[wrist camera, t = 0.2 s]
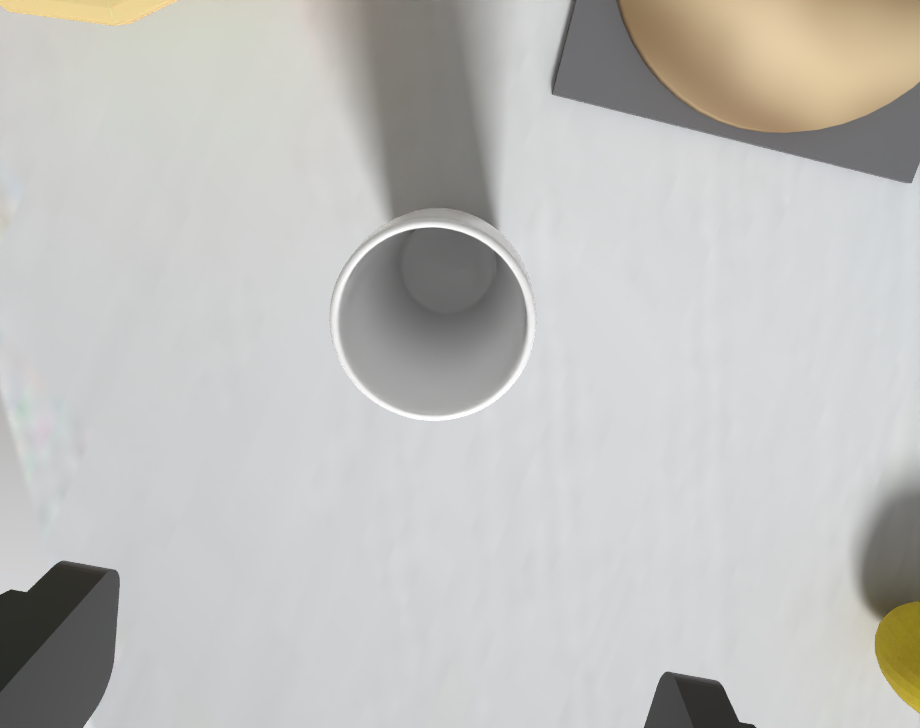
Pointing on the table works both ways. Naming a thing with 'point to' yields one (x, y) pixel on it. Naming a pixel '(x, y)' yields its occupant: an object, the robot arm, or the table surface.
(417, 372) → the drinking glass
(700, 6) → the lid
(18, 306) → the table surface
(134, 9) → the potted cactus
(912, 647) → the lemon
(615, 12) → the mat
